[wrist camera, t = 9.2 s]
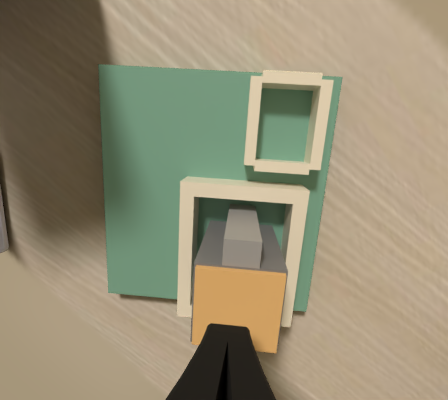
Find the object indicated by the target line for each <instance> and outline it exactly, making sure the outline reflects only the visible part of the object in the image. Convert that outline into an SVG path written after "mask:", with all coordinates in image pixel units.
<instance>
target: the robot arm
mask: <svg viewBox="0 0 448 400" xmlns="http://www.w3.org/2000/svg"><path fill="white" fill-rule="evenodd" d="M8 248H9V245H8V237H7V230H6V223H5V215H4V208H3V201H2V194H1V186H0V253H2V252H4V251H6V250H8ZM166 400H276V399H275V396H274V394H273V392H272V390H271V388H270V386H269V383H268V381H267V379H266V376H265V374H264V372H263V369H262V367H261V364H260V362H259V359H258V357H257V354H256V351H255V348H254V345H253V342H252V339H251V335H250V330H249V329H248V328H247V327H244V326H234V325H224V324H214V323H210V324H209V325H208V326H207V328H206V331H205V334H204V336H203V338H202V340H201V342H200V344H199V346H198V348H197V350H196V352H195V354H194V356H193V357H192V359H191V361H190V362H189V364H188V366H187V367H186V369H185V371H184V373H183V374H182V376H181V377H180V379H179V380H178V382H177V383H176V385H175V386H174V388H173V389H172V391H171V392H170V394H169V395H168V397H167V398H166Z"/></svg>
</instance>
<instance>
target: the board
mask: <svg viewBox="0 0 448 400" xmlns="http://www.w3.org/2000/svg"><path fill="white" fill-rule="evenodd" d="M98 69H99V92H100V114H101V137H102V159H103V182H104V204H105V227H106V249H107V272H108V293H116V294H127V295H137V296H148V297H158V298H169V299H177V316H181V317H191V318H192V296H193V273H194V261H195V259H196V256H197V253H198V251H199V248H200V246H201V243H202V240H203V238H204V235H205V233H206V230H207V227H208V225H209V222H210V220H214V221H226V222H227V218H228V212H229V206H230V204H239V205H251V206H255V208H256V213H257V218H258V223H259V224H262V225H272V227H273V229H274V232H275V235H276V238H277V241H278V244H279V246H280V249H281V252H282V255H283V258H284V261H285V264H286V266H287V269H288V277H287V284H286V291H285V299H284V306H283V313H282V321H281V326H282V327H291V320H292V313H293V310H294V311H305V312H306V309H307V303H308V296H309V290H310V283H311V277H312V270H313V264H314V257H315V251H316V244H317V238H318V232H319V225H320V219H321V212H322V206H323V199H324V193H325V186H326V180H327V174H328V167H329V161H330V154H331V148H332V141H333V135H334V128H335V122H336V115H337V109H338V103H339V96H340V90H341V83H342V77H332V76H322V75H323V73H313V72H294V71H274V70H263V73H255V72H236V71H217V70H198V69H179V68H159V67H140V66H121V65H102V64H98Z"/></svg>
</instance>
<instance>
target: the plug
mask: <svg viewBox="0 0 448 400" xmlns="http://www.w3.org/2000/svg"><path fill="white" fill-rule="evenodd" d="M287 277H288V269H287V266H286V264H285V261H284V258H283V255H282V252H281V249H280V246H279V244H278V241H277V238H276V235H275V232H274V229H273V227H272V225H262V224H259V223H258V218H257V213H256V208H255V206H251V205H239V204H230V206H229V212H228V218H227V222H226V221H214V220H210V222H209V225H208V227H207V230H206V233H205V235H204V238H203V240H202V243H201V246H200V248H199V251H198V253H197V256H196V259H195V261H194V273H193V296H192V319H191V342H192V344H194V345H199V344H200V342H201V340H202V338H203V336H204V334H205V331H206V328H207V326H208V325H209V324H210V323H214V324H224V325H234V326H244V327H247V328H248V329H249V330H250V335H251V339H252V342H253V345H254V348H255V351H259V352H269V353H276V351H277V350H278V343H279V336H280V328H281V321H282V313H283V306H284V299H285V291H286V284H287Z"/></svg>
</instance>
